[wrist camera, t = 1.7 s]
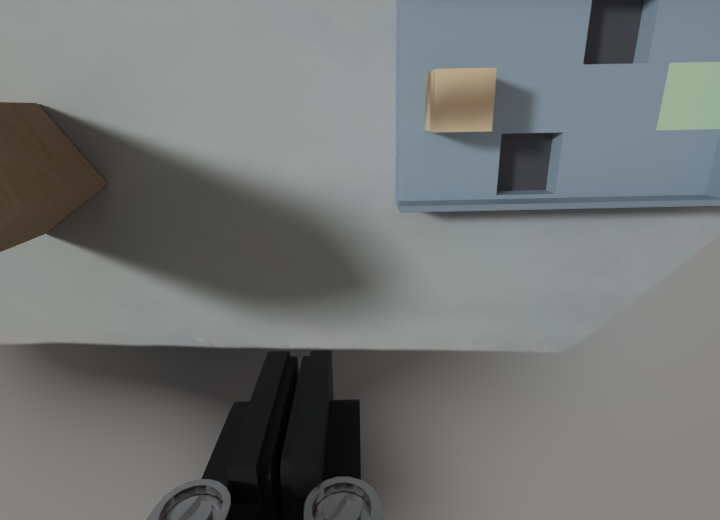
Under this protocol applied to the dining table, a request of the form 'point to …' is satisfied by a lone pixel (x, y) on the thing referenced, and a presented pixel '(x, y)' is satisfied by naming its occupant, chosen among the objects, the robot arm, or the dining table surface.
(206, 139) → the dining table surface
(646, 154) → the trap board
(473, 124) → the oak block
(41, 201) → the decorative block
